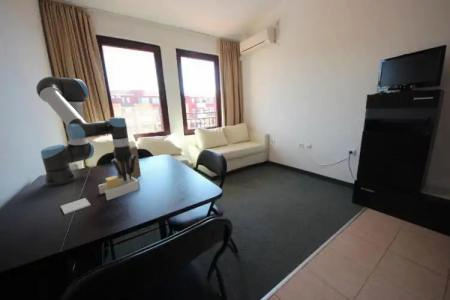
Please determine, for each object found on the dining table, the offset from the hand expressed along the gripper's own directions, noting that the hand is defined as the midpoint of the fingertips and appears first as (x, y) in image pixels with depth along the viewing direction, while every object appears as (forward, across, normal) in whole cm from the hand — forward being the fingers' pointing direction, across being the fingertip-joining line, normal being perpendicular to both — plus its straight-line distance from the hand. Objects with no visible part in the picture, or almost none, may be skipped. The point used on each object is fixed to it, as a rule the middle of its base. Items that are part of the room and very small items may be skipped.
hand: (128, 185), depth 109 cm
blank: (+2, -8, 0) cm, 8 cm away
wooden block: (+2, +8, +18) cm, 20 cm away
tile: (+2, -25, 0) cm, 25 cm away
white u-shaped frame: (+2, -5, 0) cm, 5 cm away
